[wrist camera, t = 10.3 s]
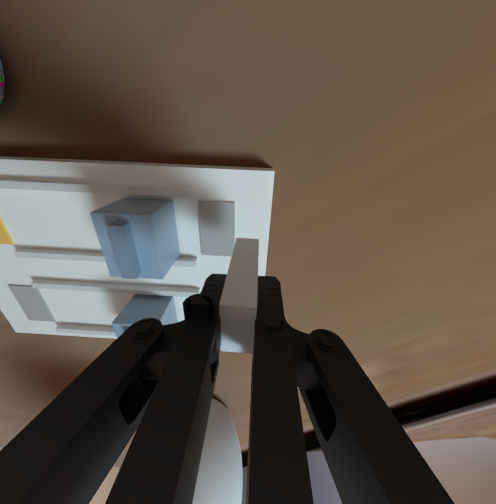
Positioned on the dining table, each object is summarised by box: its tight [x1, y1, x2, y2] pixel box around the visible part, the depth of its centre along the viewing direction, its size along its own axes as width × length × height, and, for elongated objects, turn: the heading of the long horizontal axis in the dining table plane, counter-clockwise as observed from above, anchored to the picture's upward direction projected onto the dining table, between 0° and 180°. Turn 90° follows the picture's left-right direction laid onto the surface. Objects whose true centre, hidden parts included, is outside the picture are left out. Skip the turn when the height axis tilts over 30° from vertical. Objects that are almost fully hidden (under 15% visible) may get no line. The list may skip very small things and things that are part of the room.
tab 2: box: [111, 294, 177, 338], centre depth 21 cm, size 4×5×5 cm
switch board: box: [0, 156, 275, 339], centre depth 22 cm, size 30×20×3 cm, turn 88°
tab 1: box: [90, 198, 180, 280], centre depth 16 cm, size 4×5×5 cm
